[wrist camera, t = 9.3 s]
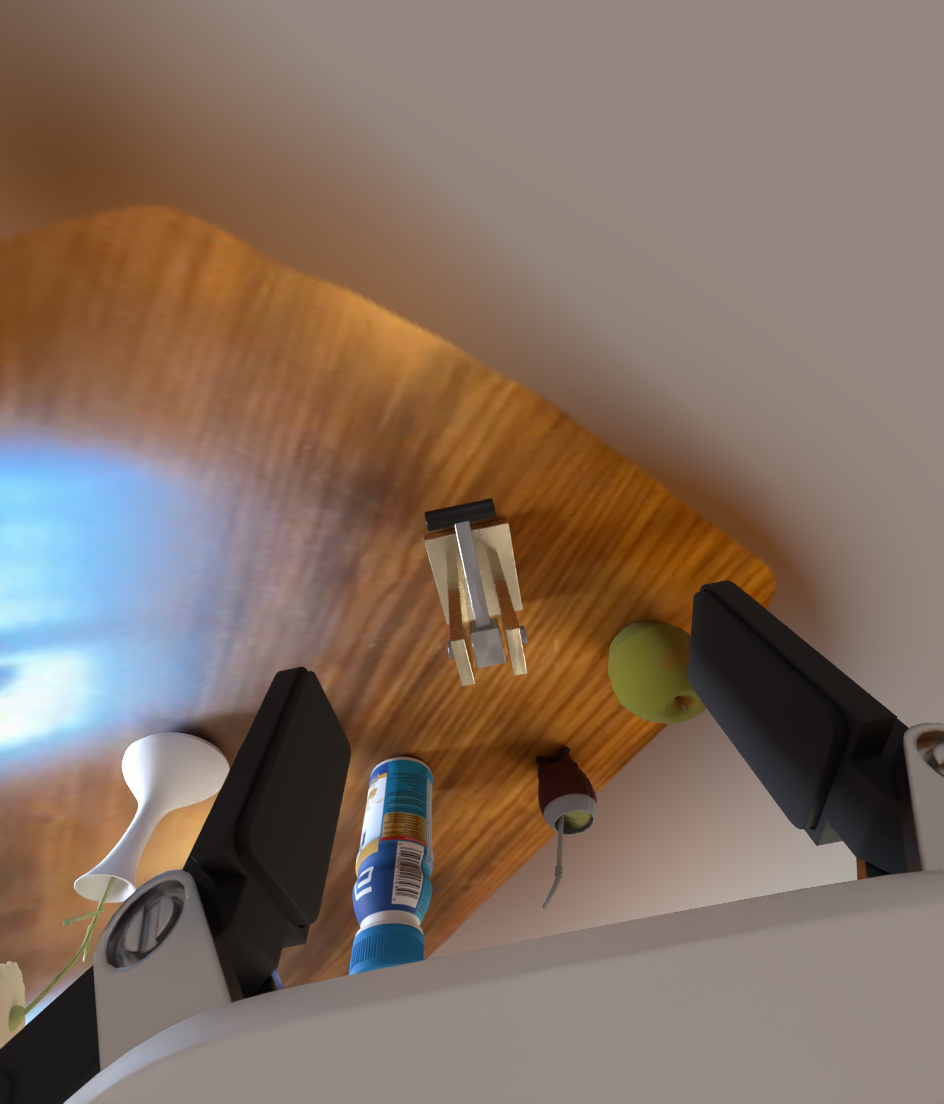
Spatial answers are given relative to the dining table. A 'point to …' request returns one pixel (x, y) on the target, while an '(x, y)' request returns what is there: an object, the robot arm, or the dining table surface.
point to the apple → (653, 672)
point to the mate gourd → (564, 802)
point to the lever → (473, 576)
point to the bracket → (497, 586)
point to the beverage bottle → (394, 866)
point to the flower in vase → (129, 840)
